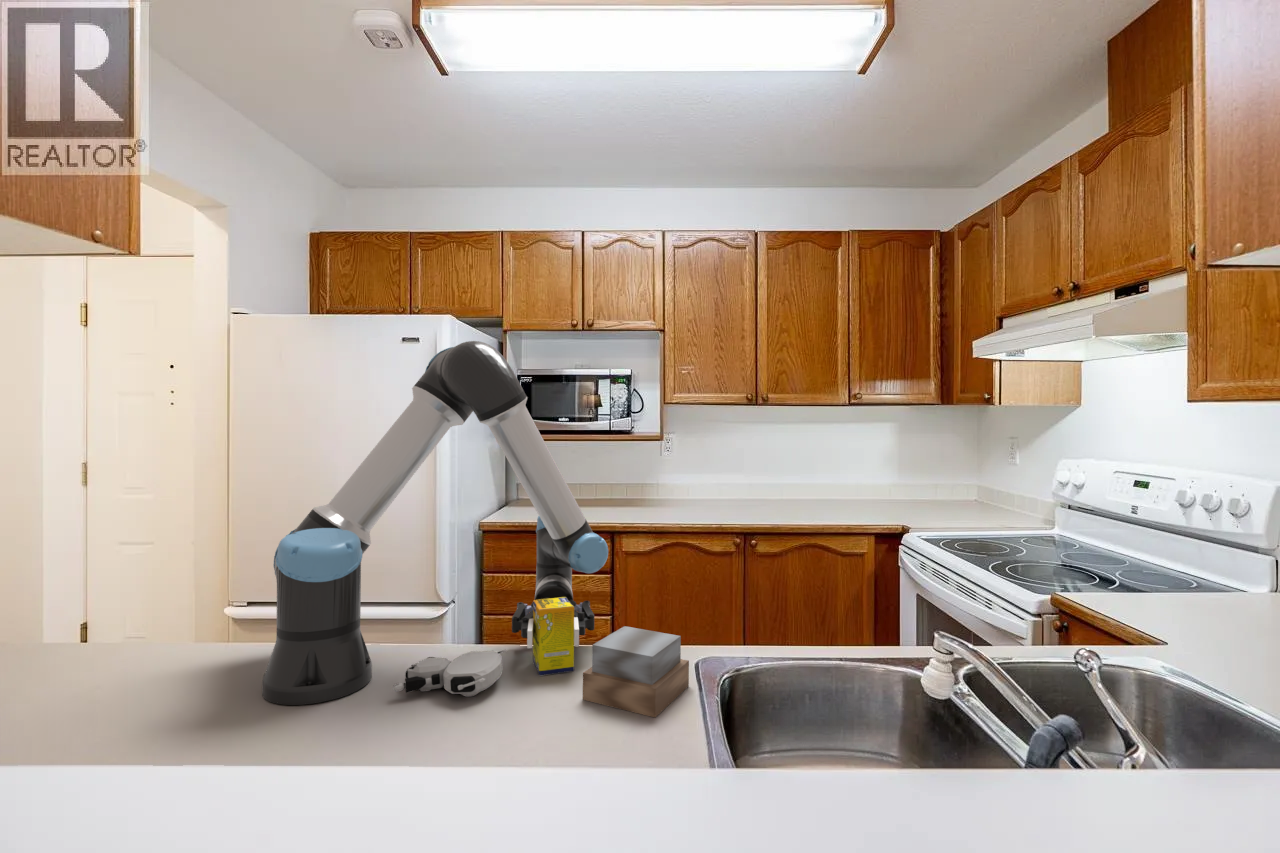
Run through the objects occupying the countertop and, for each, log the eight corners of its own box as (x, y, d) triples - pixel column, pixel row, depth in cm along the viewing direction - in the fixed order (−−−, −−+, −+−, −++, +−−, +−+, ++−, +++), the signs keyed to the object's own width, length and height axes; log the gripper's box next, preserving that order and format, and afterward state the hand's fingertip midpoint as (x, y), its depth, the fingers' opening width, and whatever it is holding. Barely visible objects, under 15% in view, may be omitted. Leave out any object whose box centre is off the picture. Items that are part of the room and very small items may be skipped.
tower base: (582, 699, 92) (583, 645, 92) (621, 671, 103) (622, 623, 103) (655, 717, 86) (655, 660, 86) (688, 686, 97) (689, 635, 97)
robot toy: (388, 710, 90) (489, 705, 89) (386, 679, 90) (487, 674, 89) (422, 676, 102) (511, 672, 102) (420, 649, 102) (510, 644, 102)
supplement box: (532, 663, 106) (532, 599, 106) (566, 659, 108) (566, 596, 108) (538, 676, 100) (538, 609, 100) (574, 671, 102) (574, 605, 102)
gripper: (603, 616, 123) (614, 659, 100) (502, 619, 121) (490, 664, 98) (603, 579, 123) (614, 613, 100) (502, 581, 121) (490, 617, 98)
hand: (553, 638), depth 99 cm, fingers closed on supplement box, 7 cm apart
